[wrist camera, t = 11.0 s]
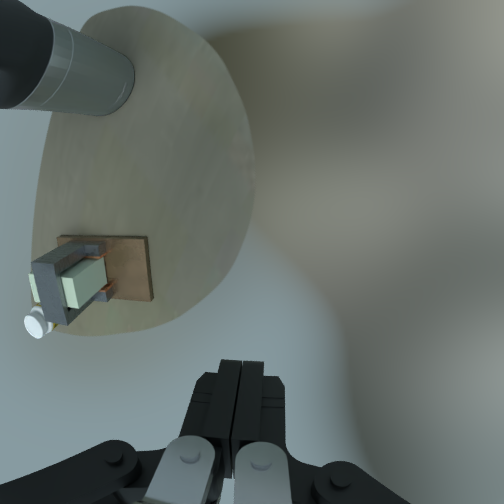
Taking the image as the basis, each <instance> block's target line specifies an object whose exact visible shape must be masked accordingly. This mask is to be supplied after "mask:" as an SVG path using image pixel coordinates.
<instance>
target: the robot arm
mask: <svg viewBox="0 0 504 504" xmlns="http://www.w3.org/2000/svg"><path fill="white" fill-rule="evenodd" d="M133 83H134V69H133V66H132V64H131V62H130V61H129V59H128V58H127V57H125V56H124V55H122V54H121V53H119V52H117V51H115V50H113V49H111V48H110V47H108V46H106V45H104V44H102V43H100V42H98V41H96V40H94V39H92V38H90V37H88V36H86V35H84V34H82V33H80V32H78V31H75V30H73V29H71V28H69V27H67V26H65V25H62V24H60V23H58V22H55V21H53V20H51V19H49V18H46V17H44V16H42V15H40V14H38V13H36V12H34V11H33V10H31V9H30V8H29V7H27V6H26V5H24V4H23V3H22V2H20V1H18V0H0V109H21V110H41V111H54V112H65V113H76V114H84V115H93V116H104V115H107V114H110V113H112V112H114V111H116V110H117V109H118V108H119V107H121V106H122V104H123V103H124V102H125V101H126V100H127V98H128V96H129V95H130V93H131V90H132V88H133ZM263 373H264V362H259V361H243V366H242V361H238V360H224V359H222V360H221V362H220V366H219V369H218V373H210V372H205V373H204V374H203V375H202V376H201V377H200V378H199V379H198V380H197V382H196V385H195V388H194V391H193V394H192V397H191V401H190V403H189V407H188V410H187V413H186V416H185V419H184V422H183V425H182V429H181V432H180V435H179V437H178V438H176V439H175V440H173V441H172V442H170V444H169V445H168V446H167V447H166V448H164V449H160V450H153V451H135V449H134V448H133V447H132V446H131V445H130V444H128V443H127V442H124V441H120V440H109V441H106V442H103V443H101V444H99V445H97V446H94V447H92V448H91V449H88V450H86V451H84V452H81V453H79V454H77V455H75V456H73V457H70V458H68V459H66V460H63V461H61V462H59V463H56V464H54V465H52V466H49V467H46V468H44V469H42V470H39V471H36V472H34V473H31V474H29V475H26V476H23V477H21V478H18V479H15V480H13V481H10V482H7V483H4V484H1V485H0V504H219V502H220V499H221V492H222V487H223V480H224V478H232V472H233V475H234V479H235V484H234V504H410V503H409V502H407V501H406V500H404V499H403V498H401V497H399V496H398V495H397V494H395V493H394V492H392V491H391V490H390V489H388V488H387V487H385V486H384V485H382V484H381V483H380V482H378V481H377V480H376V479H374V478H372V477H371V476H370V475H369V474H367V473H366V472H364V471H363V470H362V469H361V468H359V467H358V466H356V465H355V464H352V463H350V462H345V461H335V462H331V463H328V464H326V465H324V466H323V467H317V466H313V465H309V464H305V463H302V462H300V461H298V460H296V459H295V458H294V457H292V456H291V455H290V453H289V452H288V450H287V448H286V443H285V387H284V385H283V383H282V381H281V380H280V378H279V377H278V376H263Z"/></svg>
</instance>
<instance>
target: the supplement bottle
mask: <svg viewBox="0 0 504 504" xmlns="http://www.w3.org/2000/svg"><path fill="white" fill-rule="evenodd" d="M24 323H25V327H26V329H27V330H28V332H29V333H30V334H31V335H32V336H33V337H35V338H41V337H42V336H44V335H45V334H46V333H49V332H51V331H52V330H53V329H54V328H55V327H56V326H57V325H58V324H56V323H51V322H47V321H45V318H44V314H43V311H42V307H41V303H40V302H39V303H38V304H37V305H36V306H34V307H33V308H32V310H31V312H30V313H29V314H28V315H27V316H26V317H25V319H24Z"/></svg>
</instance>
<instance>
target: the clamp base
mask: <svg viewBox="0 0 504 504" xmlns="http://www.w3.org/2000/svg"><path fill="white" fill-rule="evenodd" d="M57 242H58V247H57V248H56V249H54V250H52V251H50V252H48V253H47V254H45V255H43V256H41V257H39V258H38V259H36V260H34V261H32V262H31V265H32V270H33V274H34V279H35V283H36V287H37V292H38V296H39V299H40V303H41V307H42V311H43V314H44V318H45V321H47V322H51V323H56V324H61V325H67V326H68V325H69V324H70V323H71V322H72V321H73V320H74V319H75V318H76V317H77V316H78V315H79V314H80V313H81V312H82V311H83V310H84V309H86V308H87V307H88V306H89V305H90V304H91V303H92V302H93V301H103V302H108V301H109V300H110V299H111V298H115V299H125V300H135V301H146V302H151V301H152V300H153V298H154V297H153V288H152V280H151V271H150V261H149V250H148V239H147V237H130V236H68V235H61V236H59V237H57ZM102 257H103V258H104V265H105V271H106V278H107V284H106V285H104V286H103V287H102V288H101V289H100V290H99V291H98V292H97V293H95V294H94V295H93V296H92V297H91V298H90V299H89V300H88V301H87V302H86V303H84V304H83V305H82V306H81V307H80V308H79V309H78V308H72V307H67V306H66V302H65V297H64V293H63V289H62V284H61V279H60V273H61V272H63V271H64V270H66V269H67V268H69V267H70V266H72V265H73V264H75V263H76V262H78V261H79V260H81V259H82V258H96V259H100V258H102Z"/></svg>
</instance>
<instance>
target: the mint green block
mask: <svg viewBox="0 0 504 504" xmlns="http://www.w3.org/2000/svg"><path fill="white" fill-rule="evenodd" d="M28 275H29V279H30V284H31V288H32V292H33V296H34V300H35V302H40V299H39V296H38V292H37V287H36V283H35V279H34V274H33V271H32V272H30V273H29V274H28ZM60 279H61V284H62V289H63V293H64V297H65V302H66V306H67V307H72V308H78V309H79V308H80V307H81V306H82V305H83V304H84V303H86V302H87V301H88V300H89V299H90V298H91V297H92V296H93V295H94V294H95V293H97V292H98V291H99V290H100V289H101V288H102V287H103V286H104V285H106V284H107V278H106V271H105V265H104V258H103V257H102V258H100V259H96V258H82V259H81V260H79V261H78V262H76V263H75V264H73V265H72V266H70V267H69V268H67V269H66V270H64V271H63V272H61V273H60Z"/></svg>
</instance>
